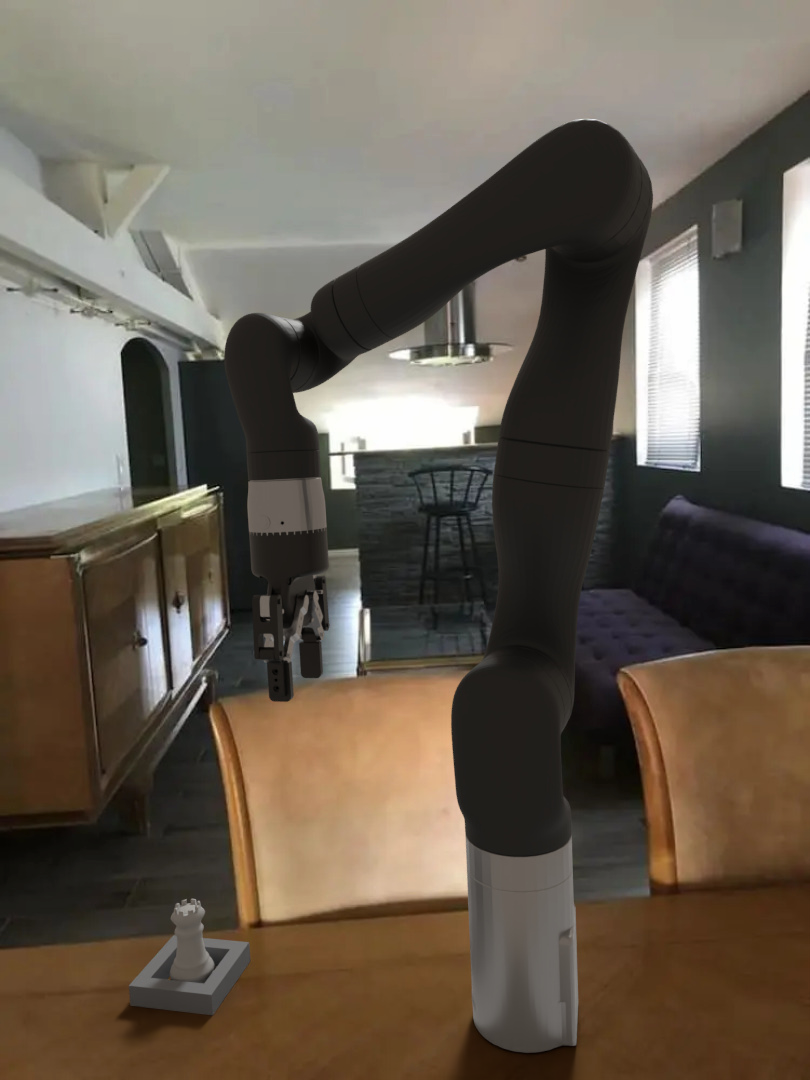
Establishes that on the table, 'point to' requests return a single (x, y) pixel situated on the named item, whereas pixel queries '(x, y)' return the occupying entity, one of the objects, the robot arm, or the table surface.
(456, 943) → the table surface
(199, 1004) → the socket plinth
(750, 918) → the table surface
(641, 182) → the robot arm
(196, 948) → the rook chess piece
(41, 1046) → the table surface
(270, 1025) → the table surface
